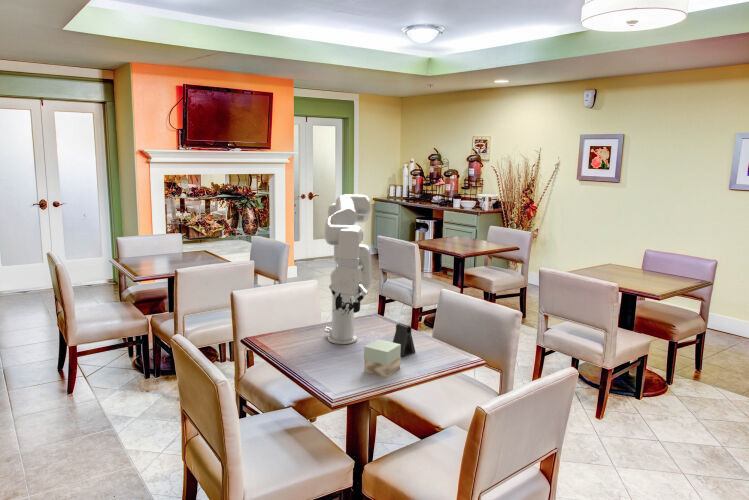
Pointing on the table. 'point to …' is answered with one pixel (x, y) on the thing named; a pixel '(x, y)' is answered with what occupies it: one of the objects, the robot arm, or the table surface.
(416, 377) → the table surface
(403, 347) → the phone stand
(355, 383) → the table surface
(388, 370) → the tower base
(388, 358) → the tower top
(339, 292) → the robot arm
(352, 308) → the creature
